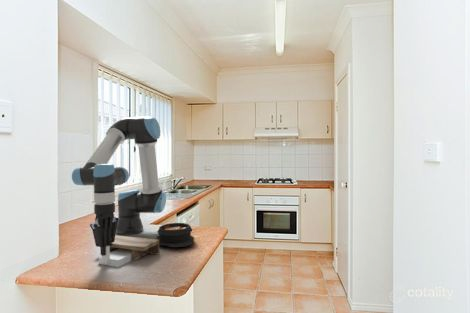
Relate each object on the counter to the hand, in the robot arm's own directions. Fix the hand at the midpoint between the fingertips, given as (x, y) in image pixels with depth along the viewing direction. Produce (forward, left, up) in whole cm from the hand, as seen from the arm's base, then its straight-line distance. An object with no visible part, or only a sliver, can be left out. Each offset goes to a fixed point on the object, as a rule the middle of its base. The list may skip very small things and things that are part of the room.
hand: (105, 262), depth 117 cm
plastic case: (-8, +1, -2) cm, 8 cm away
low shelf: (-13, 0, -1) cm, 14 cm away
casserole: (-34, +11, -2) cm, 36 cm away
